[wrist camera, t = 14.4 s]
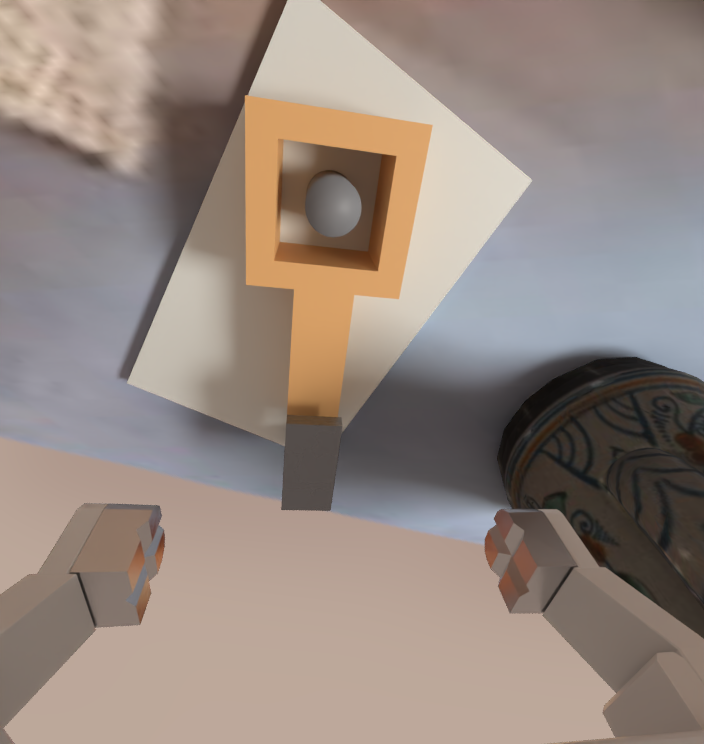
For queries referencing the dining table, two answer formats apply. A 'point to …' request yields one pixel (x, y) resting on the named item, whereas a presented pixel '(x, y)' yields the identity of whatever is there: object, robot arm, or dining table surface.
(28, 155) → the dining table surface
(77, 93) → the dining table surface
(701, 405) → the beer stein
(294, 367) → the link
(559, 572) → the robot arm
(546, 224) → the dining table surface
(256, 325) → the board
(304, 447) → the bracket
